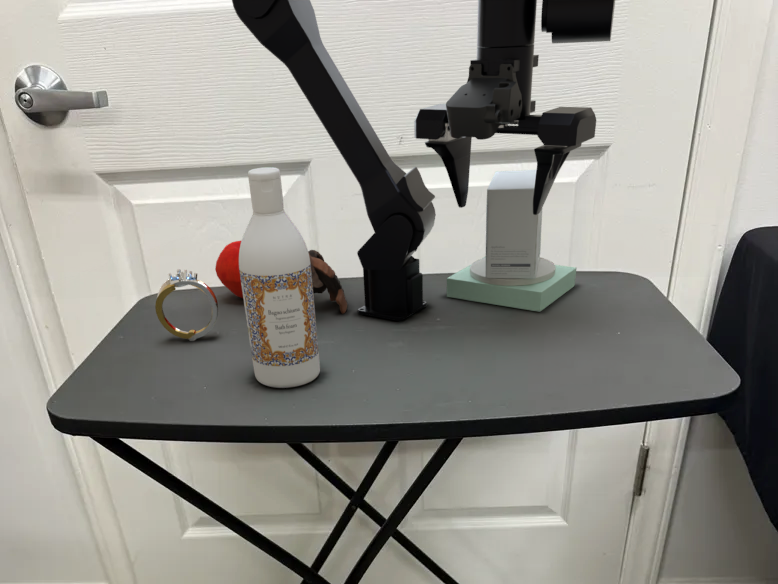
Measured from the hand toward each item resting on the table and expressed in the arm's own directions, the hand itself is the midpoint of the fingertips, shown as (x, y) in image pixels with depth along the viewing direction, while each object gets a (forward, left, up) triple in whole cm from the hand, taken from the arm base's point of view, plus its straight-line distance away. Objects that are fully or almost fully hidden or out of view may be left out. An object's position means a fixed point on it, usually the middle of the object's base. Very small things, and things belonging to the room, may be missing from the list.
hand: (498, 210), depth 87 cm
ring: (-28, -23, -12) cm, 38 cm away
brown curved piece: (-22, -8, -12) cm, 26 cm away
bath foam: (-11, -26, -12) cm, 31 cm away
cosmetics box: (-2, +9, -9) cm, 13 cm away
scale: (-2, +9, -12) cm, 15 cm away
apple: (-32, -8, -12) cm, 35 cm away
